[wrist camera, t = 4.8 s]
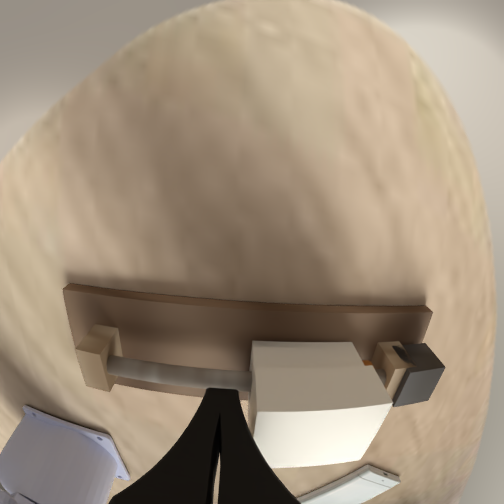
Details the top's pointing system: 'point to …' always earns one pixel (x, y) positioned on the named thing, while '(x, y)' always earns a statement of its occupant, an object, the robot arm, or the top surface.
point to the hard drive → (353, 487)
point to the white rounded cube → (313, 403)
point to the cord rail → (236, 340)
